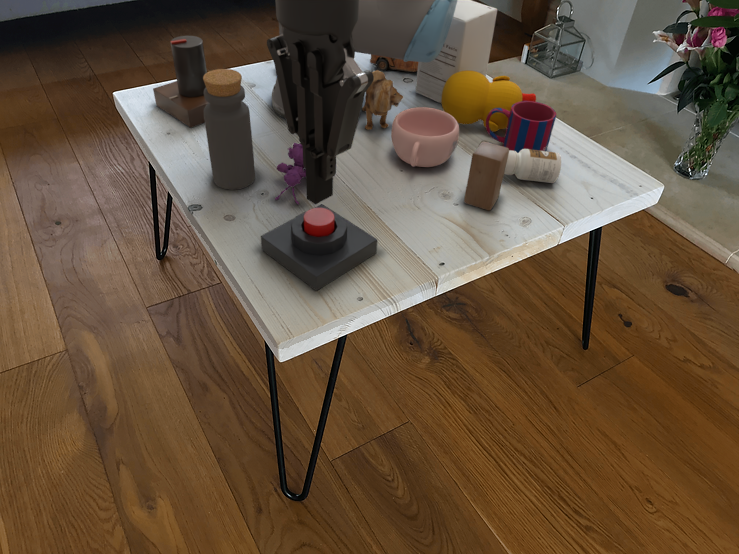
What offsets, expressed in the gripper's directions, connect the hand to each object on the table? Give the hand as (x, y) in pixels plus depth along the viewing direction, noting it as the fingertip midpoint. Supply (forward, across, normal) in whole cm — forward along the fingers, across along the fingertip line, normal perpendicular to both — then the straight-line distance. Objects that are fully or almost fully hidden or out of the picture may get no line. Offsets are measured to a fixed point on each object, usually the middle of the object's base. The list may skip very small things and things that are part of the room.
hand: (319, 196), depth 69 cm
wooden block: (+8, +7, +24) cm, 26 cm away
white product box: (+9, -17, +46) cm, 50 cm away
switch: (+4, 0, 0) cm, 4 cm away
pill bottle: (+6, +11, +36) cm, 38 cm away
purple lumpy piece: (+8, -12, +7) cm, 16 cm away
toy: (+5, +1, +46) cm, 46 cm away
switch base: (+8, 0, 0) cm, 8 cm away
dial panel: (+8, -41, +10) cm, 43 cm away
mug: (+9, -5, +25) cm, 27 cm away
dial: (+5, -41, +10) cm, 42 cm away
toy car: (+9, -30, +48) cm, 57 cm away
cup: (+9, +2, +39) cm, 40 cm away
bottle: (+8, -20, +2) cm, 21 cm away
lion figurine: (+9, -18, +30) cm, 36 cm away
